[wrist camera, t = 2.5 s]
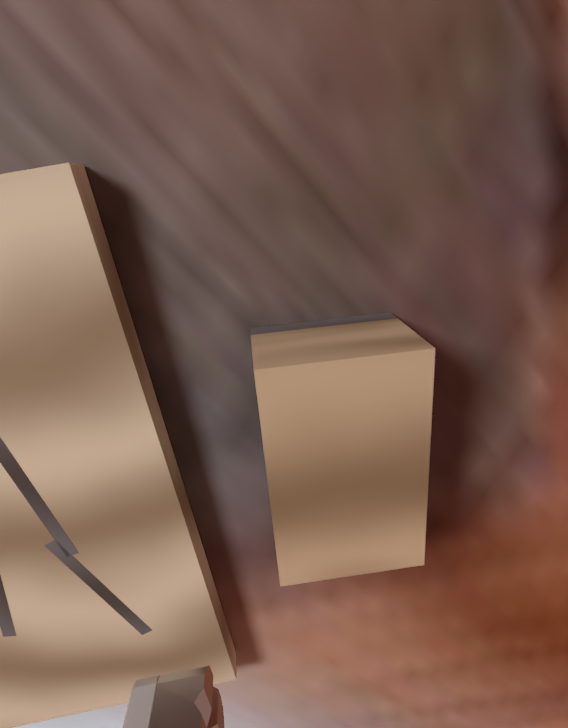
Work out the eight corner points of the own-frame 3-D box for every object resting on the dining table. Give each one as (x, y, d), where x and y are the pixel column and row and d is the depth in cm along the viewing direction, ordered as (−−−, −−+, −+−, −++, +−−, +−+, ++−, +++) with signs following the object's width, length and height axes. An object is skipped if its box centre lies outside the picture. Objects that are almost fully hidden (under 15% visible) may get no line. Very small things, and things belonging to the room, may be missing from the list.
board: (-375, 243, 12) (-436, 249, 11) (83, 165, 13) (69, 162, 11) (-31, 710, 21) (-46, 740, 19) (236, 653, 21) (236, 679, 20)
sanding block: (250, 326, 15) (253, 369, 11) (388, 310, 15) (435, 348, 12) (271, 506, 18) (280, 586, 14) (386, 490, 18) (424, 565, 15)
